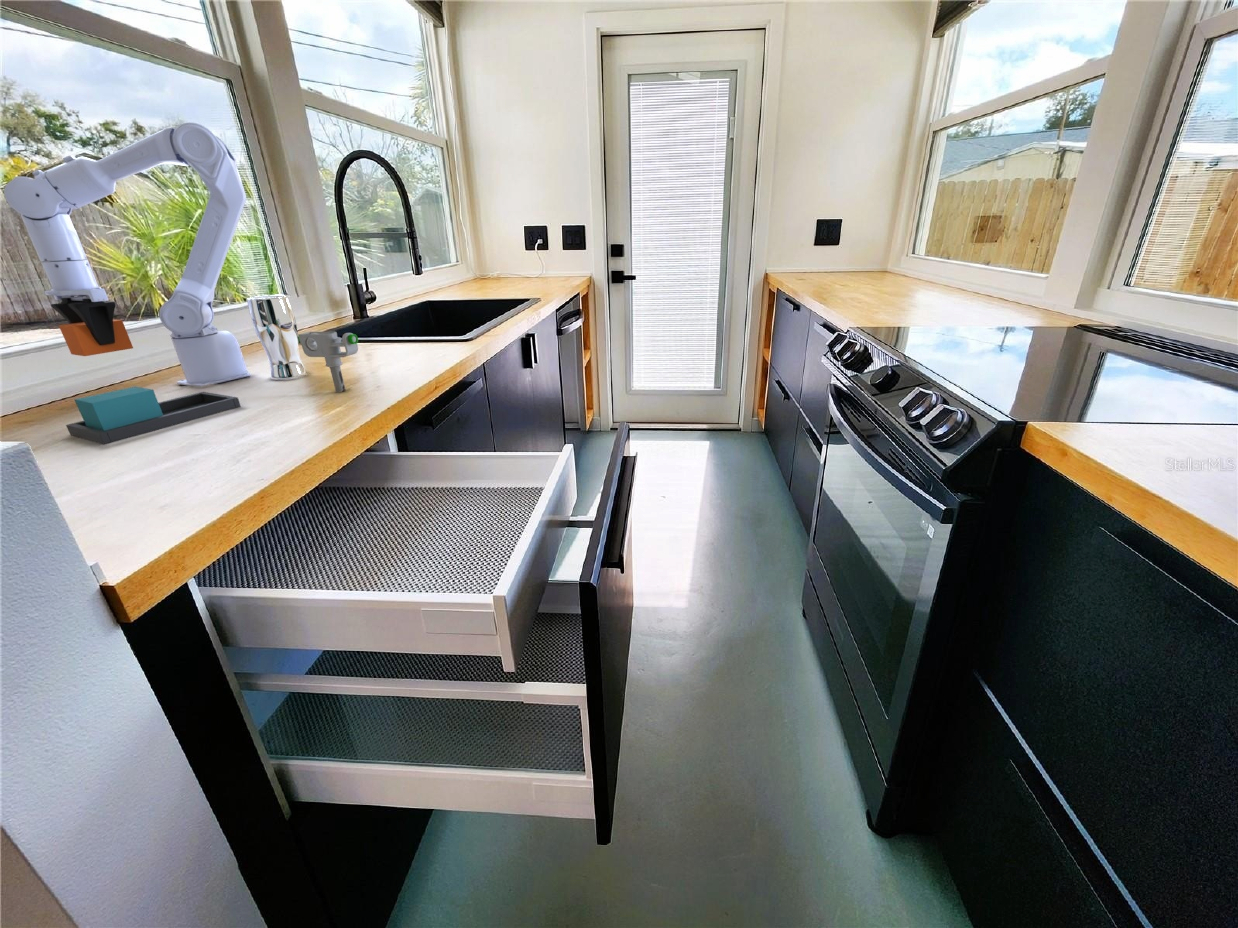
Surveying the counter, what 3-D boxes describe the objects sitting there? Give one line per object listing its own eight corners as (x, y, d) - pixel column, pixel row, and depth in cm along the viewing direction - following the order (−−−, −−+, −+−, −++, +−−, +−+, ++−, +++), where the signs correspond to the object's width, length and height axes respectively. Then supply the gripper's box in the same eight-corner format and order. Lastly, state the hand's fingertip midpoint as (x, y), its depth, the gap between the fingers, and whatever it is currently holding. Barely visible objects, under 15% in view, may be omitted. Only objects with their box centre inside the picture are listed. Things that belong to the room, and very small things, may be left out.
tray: (207, 403, 89) (203, 391, 88) (242, 409, 85) (237, 397, 84) (71, 438, 74) (65, 424, 74) (105, 447, 70) (99, 433, 69)
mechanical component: (361, 394, 90) (347, 334, 86) (309, 393, 92) (293, 334, 88) (372, 389, 93) (359, 331, 89) (321, 388, 95) (306, 331, 91)
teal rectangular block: (148, 418, 80) (135, 386, 78) (166, 422, 78) (153, 389, 76) (89, 434, 74) (73, 399, 72) (107, 438, 72) (91, 403, 70)
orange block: (120, 346, 99) (108, 319, 97) (133, 348, 96) (122, 320, 94) (71, 354, 93) (58, 325, 91) (84, 356, 91) (71, 326, 89)
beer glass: (267, 383, 100) (242, 299, 94) (270, 375, 106) (247, 296, 100) (309, 377, 103) (287, 296, 97) (310, 370, 109) (289, 293, 103)
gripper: (14, 263, 89) (51, 345, 94) (52, 262, 82) (90, 350, 88) (68, 260, 94) (101, 338, 100) (108, 259, 88) (140, 342, 93)
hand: (99, 343), depth 94 cm, fingers closed on orange block, 5 cm apart
